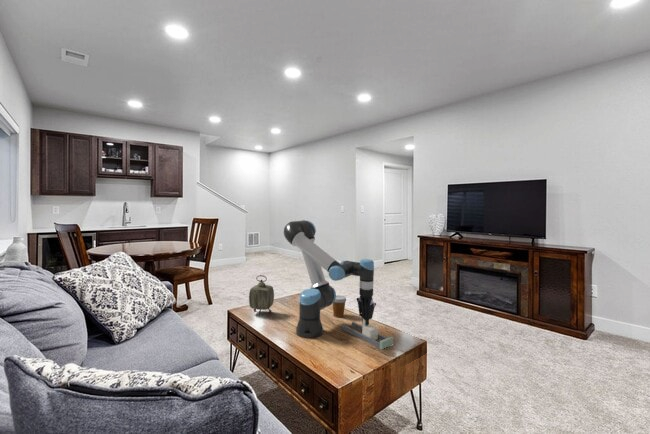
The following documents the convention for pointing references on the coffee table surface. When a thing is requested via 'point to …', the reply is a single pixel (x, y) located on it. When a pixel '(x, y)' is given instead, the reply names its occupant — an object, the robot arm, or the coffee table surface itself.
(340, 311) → the disposable coffee cup
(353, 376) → the coffee table surface
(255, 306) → the tabletop clock
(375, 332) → the block
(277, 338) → the coffee table surface
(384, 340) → the chute
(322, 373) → the coffee table surface
